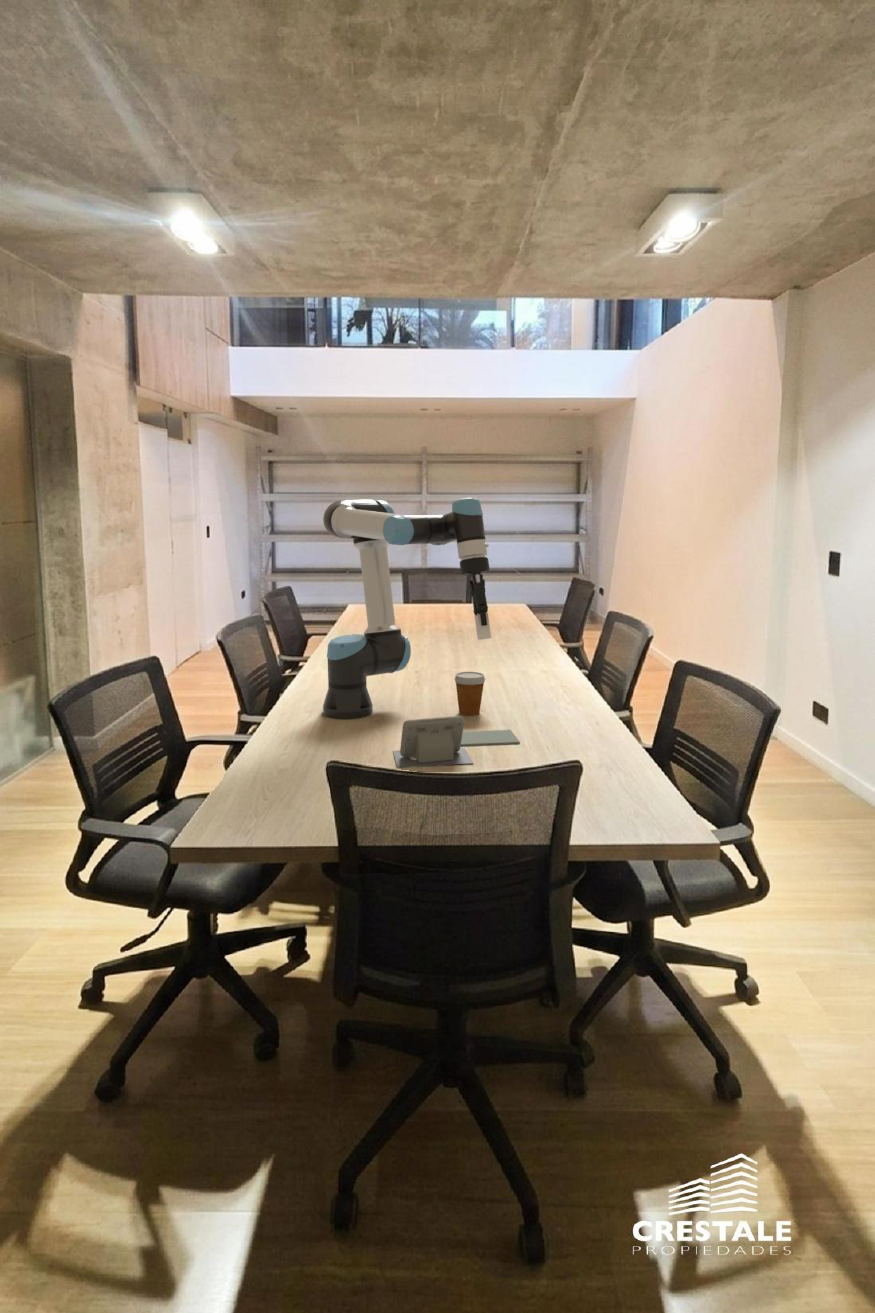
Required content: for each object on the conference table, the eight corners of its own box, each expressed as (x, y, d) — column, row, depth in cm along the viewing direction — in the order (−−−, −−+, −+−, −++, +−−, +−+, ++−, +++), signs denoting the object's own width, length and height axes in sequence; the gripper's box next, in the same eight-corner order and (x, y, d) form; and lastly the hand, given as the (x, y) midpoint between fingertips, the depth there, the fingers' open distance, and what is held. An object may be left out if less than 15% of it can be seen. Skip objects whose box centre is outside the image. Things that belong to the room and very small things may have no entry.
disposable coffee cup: (482, 717, 231) (483, 679, 229) (451, 716, 233) (451, 677, 230) (486, 709, 240) (487, 672, 238) (456, 707, 242) (457, 670, 240)
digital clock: (461, 750, 200) (462, 711, 198) (466, 762, 191) (466, 721, 189) (399, 752, 198) (399, 712, 196) (401, 764, 190) (401, 722, 188)
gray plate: (397, 767, 188) (397, 766, 188) (392, 751, 200) (392, 750, 200) (473, 764, 191) (473, 763, 191) (464, 748, 202) (464, 747, 202)
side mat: (453, 746, 205) (453, 744, 204) (447, 733, 215) (447, 732, 215) (519, 743, 207) (519, 741, 207) (510, 731, 218) (510, 729, 218)
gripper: (491, 550, 188) (502, 636, 188) (484, 561, 213) (495, 637, 213) (460, 554, 188) (472, 640, 188) (458, 564, 213) (468, 640, 213)
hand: (484, 639), depth 201 cm, fingers open, 13 cm apart
